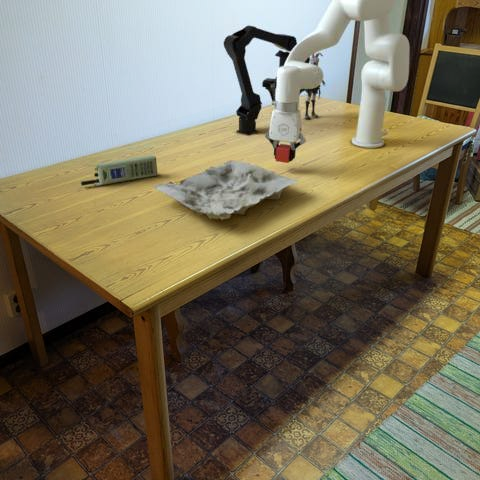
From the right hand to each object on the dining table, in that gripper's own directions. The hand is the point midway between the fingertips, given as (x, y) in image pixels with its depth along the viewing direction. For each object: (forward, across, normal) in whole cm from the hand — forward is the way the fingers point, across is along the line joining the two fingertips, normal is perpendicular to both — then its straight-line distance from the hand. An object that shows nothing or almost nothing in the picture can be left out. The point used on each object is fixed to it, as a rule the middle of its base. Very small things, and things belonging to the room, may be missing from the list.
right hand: (284, 158), depth 174 cm
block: (0, 0, 0) cm, 0 cm away
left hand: (-5, -17, +50) cm, 53 cm away
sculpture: (+4, -8, -31) cm, 32 cm away
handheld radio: (+4, -46, -32) cm, 56 cm away
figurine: (+5, -10, +68) cm, 69 cm away
